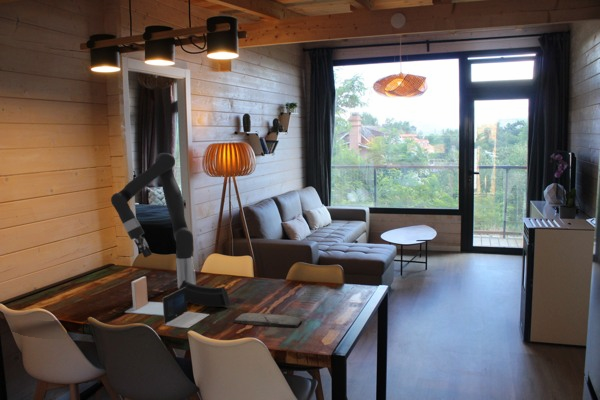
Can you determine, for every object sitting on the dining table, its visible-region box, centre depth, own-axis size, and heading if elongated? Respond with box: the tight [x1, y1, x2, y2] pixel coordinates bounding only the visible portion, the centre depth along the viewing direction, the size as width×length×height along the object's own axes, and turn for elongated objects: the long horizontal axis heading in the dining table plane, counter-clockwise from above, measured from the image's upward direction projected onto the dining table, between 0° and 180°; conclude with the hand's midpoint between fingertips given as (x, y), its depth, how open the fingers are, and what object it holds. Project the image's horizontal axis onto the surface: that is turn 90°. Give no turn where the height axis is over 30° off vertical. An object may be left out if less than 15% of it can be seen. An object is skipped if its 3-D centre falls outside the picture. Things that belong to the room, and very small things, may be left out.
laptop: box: [162, 287, 210, 329], centre depth 240 cm, size 18×12×13 cm
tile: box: [131, 276, 149, 310], centre depth 260 cm, size 2×10×14 cm, turn 163°
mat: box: [124, 301, 164, 317], centre depth 259 cm, size 21×16×1 cm
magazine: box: [177, 280, 231, 307], centre depth 262 cm, size 17×3×30 cm
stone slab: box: [234, 312, 303, 329], centre depth 236 cm, size 10×3×30 cm
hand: (148, 256), depth 274 cm, fingers open, 8 cm apart
